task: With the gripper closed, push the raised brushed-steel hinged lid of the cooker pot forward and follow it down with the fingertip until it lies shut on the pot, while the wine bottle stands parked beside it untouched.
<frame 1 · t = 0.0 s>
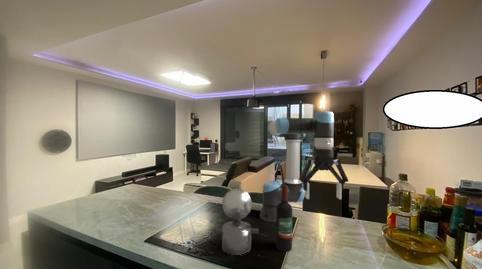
hand: (323, 198, 89), 28 cm above the cooktop, fingers open, 13 cm apart
pot: (236, 247, 101), on the cooktop
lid: (236, 204, 112), point 17 cm above the cooktop, hinge at 103.0°
wine bottle: (283, 247, 102), on the cooktop
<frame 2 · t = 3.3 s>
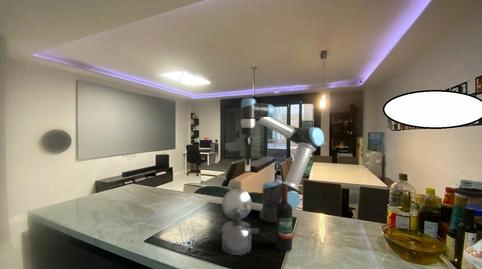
hand: (247, 170, 114), 35 cm above the cooktop, fingers closed
nothing on the cooktop moved.
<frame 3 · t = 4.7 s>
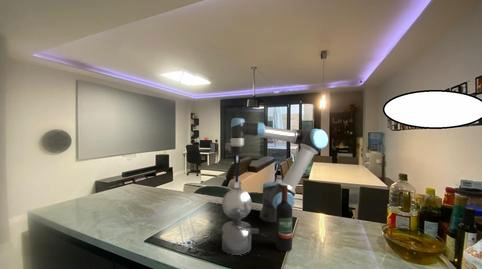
hand: (236, 187, 119), 25 cm above the cooktop, fingers closed
nothing on the cooktop moved.
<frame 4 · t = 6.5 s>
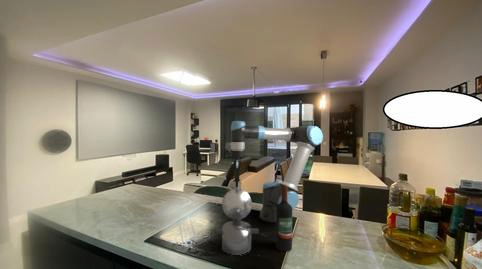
hand: (236, 193, 114), 23 cm above the cooktop, fingers closed
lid: (236, 204, 111), point 17 cm above the cooktop, hinge at 100.7°, touching gripper
everything else where it was.
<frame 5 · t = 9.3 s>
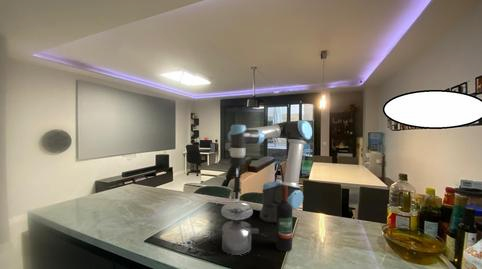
hand: (236, 204, 102), 20 cm above the cooktop, fingers closed
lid: (236, 210, 105), point 16 cm above the cooktop, hinge at 48.9°, touching gripper
everything else where it was.
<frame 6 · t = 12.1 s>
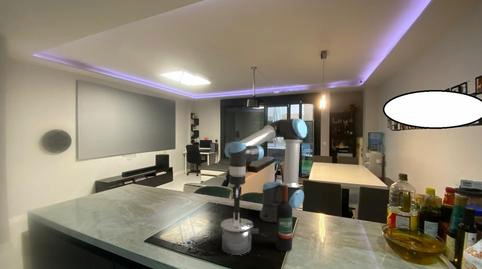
hand: (236, 225, 97), 12 cm above the cooktop, fingers closed
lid: (236, 223, 102), point 12 cm above the cooktop, hinge at 4.6°, touching gripper
everything else where it was.
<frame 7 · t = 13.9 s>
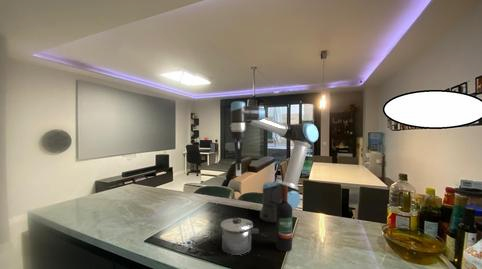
hand: (238, 175, 111), 33 cm above the cooktop, fingers closed
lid: (236, 223, 102), point 12 cm above the cooktop, hinge at 4.6°
everything else where it was.
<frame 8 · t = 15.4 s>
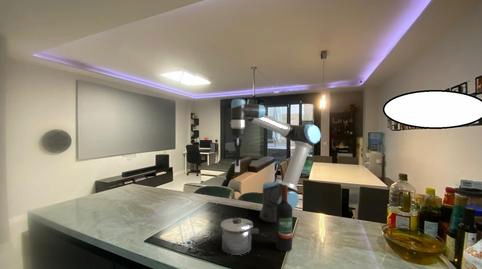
hand: (237, 171, 113), 34 cm above the cooktop, fingers closed
nothing on the cooktop moved.
at the end: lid at +5° (first picture: +103°) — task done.
